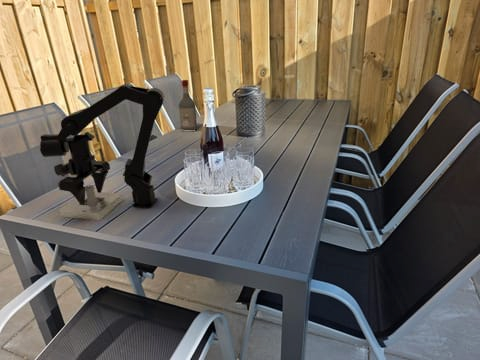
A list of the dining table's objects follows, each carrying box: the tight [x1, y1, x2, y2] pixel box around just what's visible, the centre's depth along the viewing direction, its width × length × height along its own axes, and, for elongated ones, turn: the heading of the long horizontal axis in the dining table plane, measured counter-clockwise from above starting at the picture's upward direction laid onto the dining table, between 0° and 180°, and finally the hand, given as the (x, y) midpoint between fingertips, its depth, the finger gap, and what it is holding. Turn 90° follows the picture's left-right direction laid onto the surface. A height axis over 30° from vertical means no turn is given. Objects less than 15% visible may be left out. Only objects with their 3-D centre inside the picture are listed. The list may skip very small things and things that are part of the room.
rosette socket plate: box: [59, 191, 124, 221], centre depth 107 cm, size 14×14×2 cm
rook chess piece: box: [84, 184, 100, 206], centre depth 106 cm, size 4×4×8 cm
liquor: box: [178, 79, 198, 130], centre depth 194 cm, size 9×9×30 cm
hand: (91, 198), depth 107 cm, fingers open, 9 cm apart
